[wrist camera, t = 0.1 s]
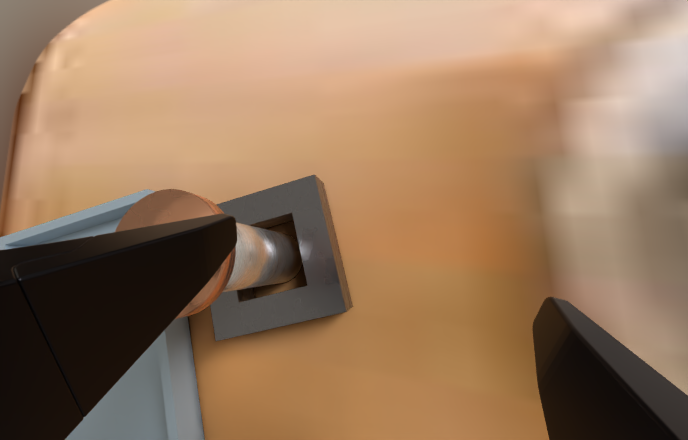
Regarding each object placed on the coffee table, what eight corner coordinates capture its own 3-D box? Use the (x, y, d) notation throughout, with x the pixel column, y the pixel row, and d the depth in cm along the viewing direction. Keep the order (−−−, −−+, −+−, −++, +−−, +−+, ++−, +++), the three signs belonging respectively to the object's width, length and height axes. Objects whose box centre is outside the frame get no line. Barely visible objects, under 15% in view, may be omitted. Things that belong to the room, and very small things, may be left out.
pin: (319, 284, 24) (232, 304, 12) (254, 300, 25) (115, 333, 13) (304, 216, 25) (211, 173, 13) (242, 233, 26) (103, 208, 14)
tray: (207, 462, 24) (184, 486, 21) (43, 488, 26) (5, 512, 24) (170, 195, 28) (147, 189, 25) (31, 240, 30) (-3, 238, 28)
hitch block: (352, 306, 23) (346, 311, 21) (234, 333, 25) (215, 341, 22) (323, 183, 25) (314, 174, 23) (215, 215, 27) (195, 210, 24)
